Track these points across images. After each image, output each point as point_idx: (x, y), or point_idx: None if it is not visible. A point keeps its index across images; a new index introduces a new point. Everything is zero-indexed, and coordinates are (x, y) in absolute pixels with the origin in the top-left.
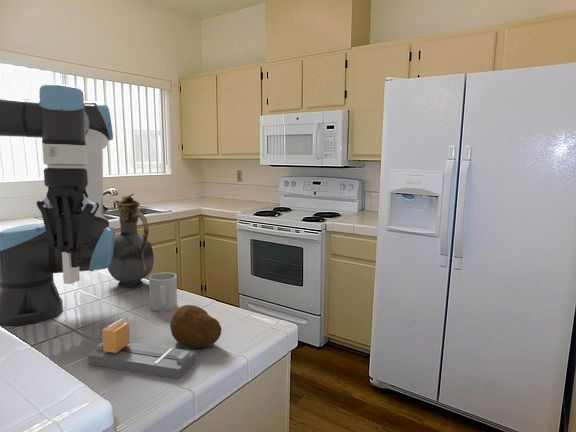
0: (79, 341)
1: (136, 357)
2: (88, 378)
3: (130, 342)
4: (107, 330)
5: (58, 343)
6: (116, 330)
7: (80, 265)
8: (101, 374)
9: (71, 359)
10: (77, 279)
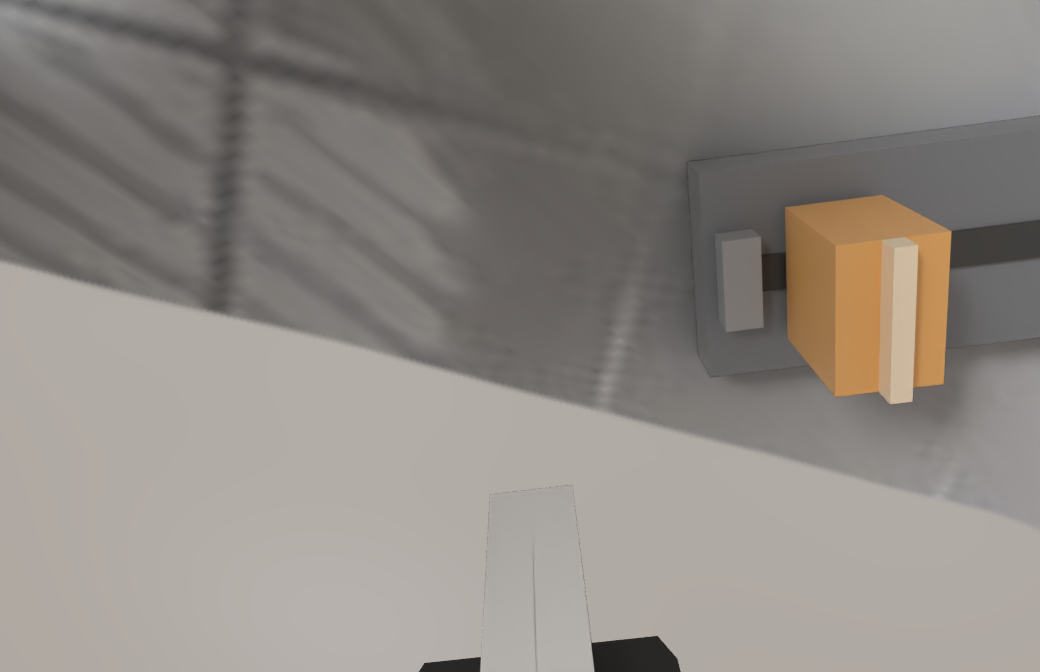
0: (424, 175)
1: (1007, 296)
2: (799, 446)
3: (857, 158)
4: (879, 391)
5: (329, 248)
6: (938, 365)
7: (659, 644)
8: (836, 399)
9: (571, 353)
10: (577, 526)
